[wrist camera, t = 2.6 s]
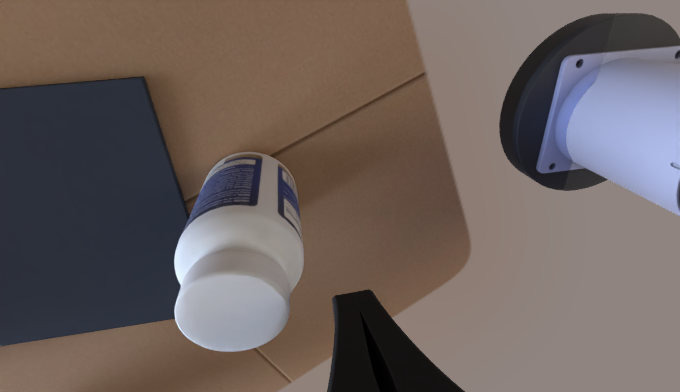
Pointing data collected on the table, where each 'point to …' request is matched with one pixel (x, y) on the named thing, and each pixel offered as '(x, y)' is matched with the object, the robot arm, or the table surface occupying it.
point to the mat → (85, 210)
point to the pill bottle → (239, 255)
